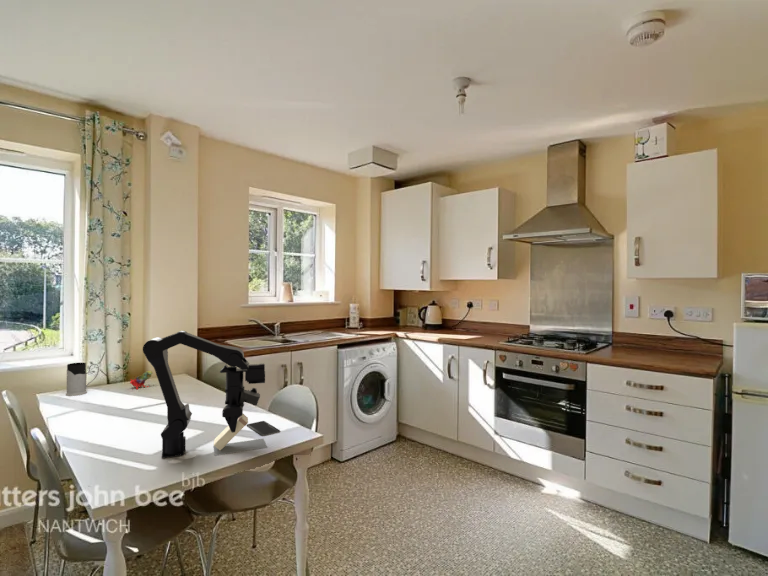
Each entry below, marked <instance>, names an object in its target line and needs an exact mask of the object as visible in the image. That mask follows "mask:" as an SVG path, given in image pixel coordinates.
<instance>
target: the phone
mask: <svg viewBox="0 0 768 576" xmlns="http://www.w3.org/2000/svg"><path fill="white" fill-rule="evenodd" d="M246 427H247V428H248V429H249V430H251V431H253V432H255V434H257V435H259V436H260V437H265V436H269V435H274V434H278V433H280V432H281V430H280V429H279V428H277V427H275V426H273V425H272V424H271V423H268V422H267V421H265V420H262V421H256V422H251V423H248V424H247V425H246Z"/></svg>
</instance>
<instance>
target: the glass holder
mask: <svg viewBox="0 0 768 576" xmlns="http://www.w3.org/2000/svg"><path fill="white" fill-rule="evenodd" d="M92 366H96V367H97V372H96V374H95V376H94V378H93V379H91V381H90V382H88V383H87V374H89V373H90V372H91V368H92ZM86 371H87V363H86V362H72V363H68V364H67V365H66V393H65V396H66V397H77V396H83V395H86V394H87V393H88V392H87V387H88V386H89V385H90V384H91V383H92V382H93V381H95V380H96V379H97V377H98V375H99V372H100V366H99V365H98V364H97V363H92V364H91V365H90V366H89V367H88V372H86Z"/></svg>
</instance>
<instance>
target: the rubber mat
mask: <svg viewBox="0 0 768 576" xmlns="http://www.w3.org/2000/svg"><path fill="white" fill-rule="evenodd" d="M261 449H262V450H263V449H268V445H267V444H266V441H265V439H264V438H258V439H250V440H244V441H237V442H230V443H229V442H228V443H227V444H226V445H225V446H224V447H223V448H222V449H221V450H219V449H218V448H216V447H215V446H214V445H213V453H214V456H215V457H216V456H223V455H229V454H236V453H243V452H248V451H255V450H261Z"/></svg>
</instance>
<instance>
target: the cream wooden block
mask: <svg viewBox="0 0 768 576" xmlns="http://www.w3.org/2000/svg"><path fill="white" fill-rule="evenodd" d="M248 417H249V416H247V415H246V414H244V413H243V414H242V416H240V417H239V418H238V420H237V425H236V430H235V432H233V433H232V432H231V430H230V428H229V425H228V424H227V426H226V427H225V428H224V429H223V430H222V431H221V432H220V433H219V434H218V435H217V436H216V437H215V438H214V440H213V446H215V447H216V448H218V449H219V450H221V449H222V448H223V447H224V446H225V445H226V444H229V442H231V440H233V439H234V438H235V436H237V434H239V433H240V432H241V431H242V429H244V427H247V424H249V418H248Z"/></svg>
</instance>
